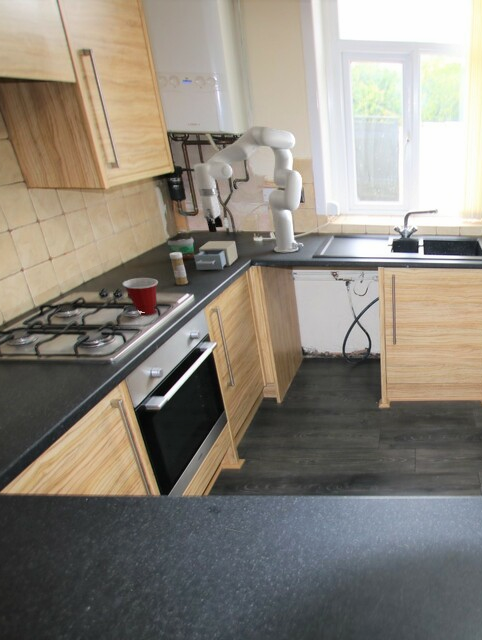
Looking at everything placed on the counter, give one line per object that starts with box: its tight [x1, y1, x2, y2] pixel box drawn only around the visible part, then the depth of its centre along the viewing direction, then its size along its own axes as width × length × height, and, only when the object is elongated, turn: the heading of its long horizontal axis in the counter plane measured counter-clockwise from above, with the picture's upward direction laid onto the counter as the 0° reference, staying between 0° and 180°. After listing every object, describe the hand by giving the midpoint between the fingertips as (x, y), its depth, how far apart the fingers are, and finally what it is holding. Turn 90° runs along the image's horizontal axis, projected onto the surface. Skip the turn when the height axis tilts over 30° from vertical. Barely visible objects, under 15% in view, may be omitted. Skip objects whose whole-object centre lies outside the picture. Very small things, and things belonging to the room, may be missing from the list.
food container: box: [167, 236, 195, 261], centre depth 236 cm, size 12×6×10 cm, turn 143°
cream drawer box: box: [198, 240, 239, 267], centre depth 233 cm, size 15×13×9 cm
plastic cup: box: [121, 277, 159, 316], centre depth 171 cm, size 11×11×12 cm
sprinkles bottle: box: [169, 252, 189, 286], centre depth 201 cm, size 5×5×13 cm
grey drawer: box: [193, 250, 227, 271], centre depth 223 cm, size 18×11×7 cm, turn 7°
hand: (216, 229), depth 223 cm, fingers open, 9 cm apart
